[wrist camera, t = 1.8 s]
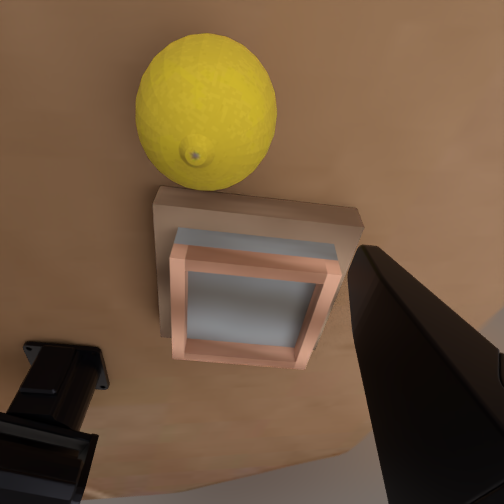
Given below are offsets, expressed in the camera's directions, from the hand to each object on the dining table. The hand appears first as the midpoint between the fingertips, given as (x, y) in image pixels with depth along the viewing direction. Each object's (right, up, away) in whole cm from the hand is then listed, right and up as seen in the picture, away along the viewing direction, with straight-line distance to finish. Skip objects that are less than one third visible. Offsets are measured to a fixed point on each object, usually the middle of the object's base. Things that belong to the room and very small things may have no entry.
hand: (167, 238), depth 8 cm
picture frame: (+2, -2, +17) cm, 17 cm away
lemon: (0, +8, +9) cm, 12 cm away
